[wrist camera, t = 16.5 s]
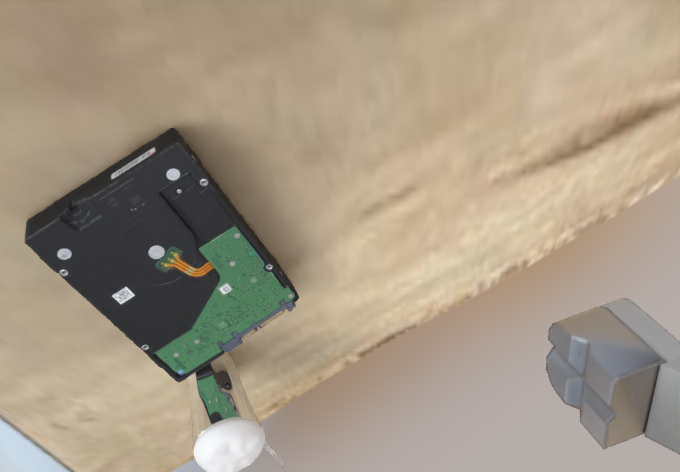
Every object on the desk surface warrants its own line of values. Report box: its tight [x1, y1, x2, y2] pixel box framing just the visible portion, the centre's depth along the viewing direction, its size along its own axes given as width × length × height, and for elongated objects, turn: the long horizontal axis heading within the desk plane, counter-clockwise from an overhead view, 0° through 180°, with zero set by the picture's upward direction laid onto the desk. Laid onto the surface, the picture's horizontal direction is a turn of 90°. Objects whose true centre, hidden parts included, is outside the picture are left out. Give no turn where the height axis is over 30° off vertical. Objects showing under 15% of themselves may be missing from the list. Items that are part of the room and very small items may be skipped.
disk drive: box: [25, 128, 299, 382], centre depth 41 cm, size 10×3×15 cm
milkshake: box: [187, 352, 284, 472], centre depth 44 cm, size 4×5×10 cm
